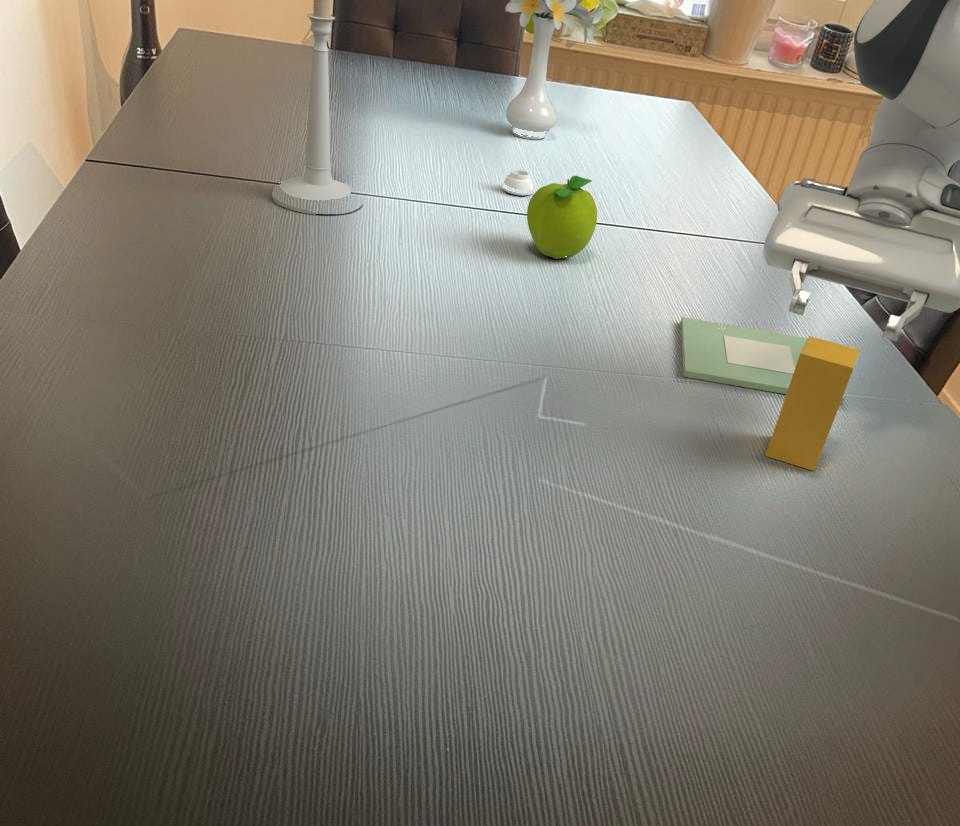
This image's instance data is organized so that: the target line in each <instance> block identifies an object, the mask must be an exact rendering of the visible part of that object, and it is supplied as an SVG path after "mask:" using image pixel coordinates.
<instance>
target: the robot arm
mask: <svg viewBox="0 0 960 826" xmlns="http://www.w3.org/2000/svg"><path fill="white" fill-rule="evenodd" d="M854 33H855V34H854V36H853V37H854V38H853V51H854V52H853V53H854V62H855V67H856V72H857V76H858V79H859V82H860V84H861V85H862V86H863V87H865V88H867V89H869V90H870V91H872V92H875V93H877V94H879V95H881V96H882V99H881V101H880V104H879V106H878V108H877V111H876V113H875V116H874V117H873V118H874V119H873V121H872V125H871V129H870V139H869V142H868V143H867V145H866V146H865V148H864V149H863V150H862V152H861V154H860V155H859V156H858V159H857V162H856V164H855V167H854V170H853V172H852V175H851V177H850V180H849V182H848V185H847V186H843V185H839V184H834V183H828V182H821V181H817V180H816V179H813V178H810V177H803V178H802V180H795V181H791V182H790V183H788V184H786V186H785V187H784V188H783V189H782V191H781V194H780V197H779V199H778V202H777V207H776V208H777V212H778V213H777V215H776V216H775V218H774V220H773V222H772V224H771V226H770V228H769V230H768V232H767V234H766V236H765V240H764V244H763V249H762V250H763V251H762V255H763V258H764V260H765V263H766V264H767V265H768V266H770V267H773V268H777V269H781V270H784V271H788V272H790V275H789V285H790V289H791V293H792V298H791V301H790V304H789V307H788V312H789V313H792V314H797V315H800V316H804V313H805V311H806V308H807V306H808V303H809V300H810V297H811V292H809V291H805V290H803V285H802V284H804V282H805V280H806V276H807V277H811V278H815V279H818V280H821V281H826V282H830V283H834V284H837V285H842V286H845V287H849V288H853V289H857V290H859V291H865V292H868V293H872V294H875V295H880V296H883V297H887V298H890V299H895V300H897V301H902V302H905V303H907V305H906V308H905V311H904V312H902V313H901V315H894V314H890V316H889V318H888V321H887V323H886V326H885V329H884V332H883V334H882V338H884V339H887V340H890V341H895V342H898V340H899V338H900V336H901V333H902V331H903V328H904V327H906V326H907V325H908V324H909V323H911V322H912V321H913V320H915V319H916V318H917V317H918V316H919V315H920V314H921V312H922V310H923V307H925V308H929V309H932V310H936V311H940V312H944V313H947V314H950V313H951V314H952V313H953V312H955V311H958V310H959V309H960V183H958V182H956V181H954V180H953V179H952V178H950V177H949V176H948V174H949V170H950V168H951V167H952V166H953V165H954V164H955V163H956V162H958V161H960V0H874V1H873V2H872V3H871V5H870V6H869V7H868V8H867V10H866V11H865V13H864V14H863V16H862V18H861V19H860V22H859V23H858V25H857V27H856V30H855V32H854Z"/></svg>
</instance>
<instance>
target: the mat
mask: <svg viewBox="0 0 960 826" xmlns="http://www.w3.org/2000/svg"><path fill="white" fill-rule="evenodd" d="M719 324H720V325H719ZM722 324H723V325H722ZM721 325H722V326H723V327H722V326H721ZM724 325H725V326H726V327H725V326H724ZM721 327H722V328H723V329H724V327H725V328H726V329H725V332H723V331H724V330H723V329H722V330H723V331H721V330H720V329H721ZM718 328H720V329H719V330H720V331H718V330H717V329H718ZM727 329H728V330H727ZM721 332H722V333H721ZM680 333H681V334H680V337H681V353H682V372H683V378H688V379H695V380H701V381H706V382H712V383H719V384H722V385H723V384H725V385H729V386H736V387H742V388H746V389H747V388H748V389H751V390H757V391H758V390H759V391H763V392H764V391H765V392H770V393H776V394H782V395H786V394H787V391H788V388H789V385H790V382H791V379H792V376H793V373H794V370H795V368H796V365H797V362H798V359H799V356H800V353H801V351H802V349H803V347H804V345H805V343H806V341H807V339H808V337H803V336H802V337H801V336H795V335H791V334H784V333H779V332H773V331H766V330H761V329H755V328H750V327H745V326H744V327H743V326H737V325H732V324H725V323H720V322H713V321H707V320H702V319H696V318H691V317H684V316H681V319H680ZM844 401H845V394H844V395H843V398H842V400H841V403H840V405H843V404H844Z"/></svg>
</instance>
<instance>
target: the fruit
mask: <svg viewBox="0 0 960 826" xmlns="http://www.w3.org/2000/svg"><path fill="white" fill-rule="evenodd" d="M566 180H567V181H566V182H567V183H562V184H561V183H555V182H552V183H549V184H547V185H544V186H541V187H540V188H538V189H537V190H536V191H534V193H533V194H532V196H531V198H529V199H530V200H529V202H528V205H527V209H526V221H527V227H528V230H529V233H530V237H531V238H532V241H533V243H534V245H535V246H536V249H538V251H539V252H540V253H541V254H542V255H544V256H546V257H549V258H551V259H554V260H558V259H559V260H560V259H570V258H572V257H574V256H575V255H577V254H578V253H580V252H582V251H583V250H584V249H585V248H586V246H587V245H588V244H589V242H591V240H592V237H593V235H594V233H595V230H596V226H597V221H598V209H597V203H596V201H595V198H594V196H593V195H592V194H591V193H590V192H589V191H587V190H584V189H583V188H582V187H585V186H586V185H588V184H589V183H591V182H593V180H592V179H588V178H585V177H581V176H579V175H572V176H571V177H570V179H569V178H567V179H566ZM573 255H574V256H573ZM565 256H567V257H565Z"/></svg>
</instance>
